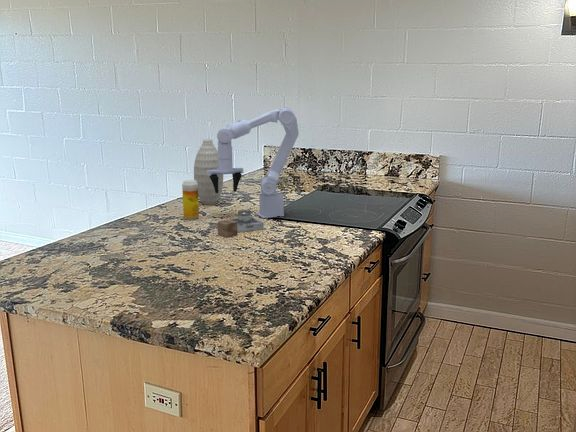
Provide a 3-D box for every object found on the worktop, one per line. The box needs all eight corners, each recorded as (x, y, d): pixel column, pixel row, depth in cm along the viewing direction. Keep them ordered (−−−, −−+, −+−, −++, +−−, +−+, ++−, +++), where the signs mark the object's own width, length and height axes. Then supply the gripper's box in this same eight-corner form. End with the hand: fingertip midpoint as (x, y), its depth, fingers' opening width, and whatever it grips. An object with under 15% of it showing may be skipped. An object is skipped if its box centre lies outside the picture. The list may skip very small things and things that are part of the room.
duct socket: (253, 222, 225) (253, 216, 225) (264, 229, 215) (264, 223, 215) (226, 225, 221) (226, 218, 220) (236, 233, 211) (236, 226, 210)
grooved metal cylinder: (253, 227, 218) (253, 212, 216) (241, 229, 215) (241, 214, 214) (247, 224, 222) (247, 209, 221) (235, 226, 219) (235, 211, 218)
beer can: (195, 220, 228) (194, 183, 224) (181, 219, 229) (179, 182, 225) (201, 216, 233) (200, 180, 229) (187, 215, 234) (185, 179, 231)
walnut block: (228, 232, 212) (228, 219, 211) (237, 235, 209) (237, 221, 207) (218, 235, 209) (217, 221, 207) (226, 238, 205) (226, 224, 204)
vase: (189, 205, 253) (186, 140, 245) (204, 199, 264) (202, 137, 257) (215, 207, 248) (213, 142, 241) (228, 201, 259) (227, 138, 252)
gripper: (239, 156, 235) (239, 188, 239) (204, 158, 229) (205, 191, 233) (245, 158, 229) (245, 192, 232) (209, 160, 223) (210, 195, 227)
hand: (225, 192), depth 232 cm, fingers open, 7 cm apart
